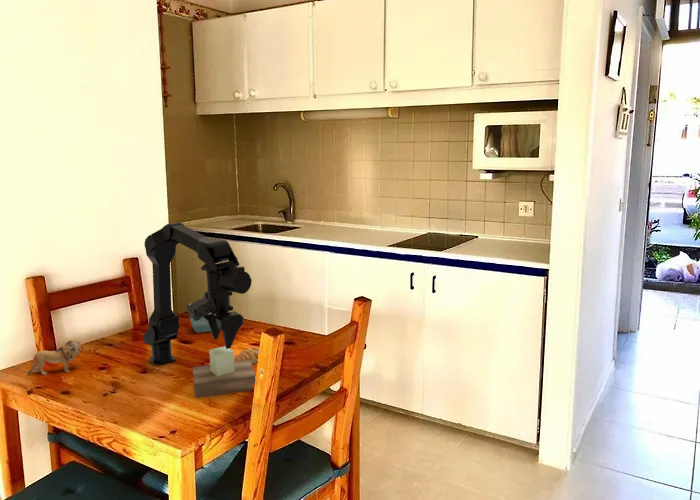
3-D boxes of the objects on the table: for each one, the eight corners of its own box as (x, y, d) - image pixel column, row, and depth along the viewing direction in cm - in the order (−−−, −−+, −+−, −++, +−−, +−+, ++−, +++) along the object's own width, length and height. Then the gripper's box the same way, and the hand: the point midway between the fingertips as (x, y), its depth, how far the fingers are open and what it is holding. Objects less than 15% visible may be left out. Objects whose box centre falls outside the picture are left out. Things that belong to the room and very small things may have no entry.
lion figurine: (82, 364, 178) (79, 335, 176) (82, 370, 173) (79, 341, 171) (28, 372, 172) (24, 343, 170) (26, 379, 167) (22, 349, 166)
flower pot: (190, 327, 210) (189, 303, 208) (216, 325, 212) (214, 301, 210) (190, 335, 202) (188, 310, 200) (216, 333, 204) (215, 308, 202)
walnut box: (193, 381, 165) (192, 367, 164) (250, 374, 169) (250, 359, 169) (195, 399, 154) (194, 384, 153) (256, 391, 158) (256, 375, 157)
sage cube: (210, 370, 161) (209, 349, 160) (227, 366, 164) (226, 345, 163) (217, 376, 157) (215, 355, 156) (234, 372, 160) (233, 351, 159)
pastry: (239, 370, 172) (238, 358, 171) (226, 364, 176) (225, 352, 175) (265, 361, 178) (264, 349, 177) (251, 355, 183) (250, 344, 182)
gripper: (177, 285, 159) (181, 340, 162) (200, 300, 144) (204, 360, 147) (216, 279, 165) (220, 332, 168) (243, 293, 150) (246, 351, 153)
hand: (221, 343), depth 159 cm, fingers open, 9 cm apart
